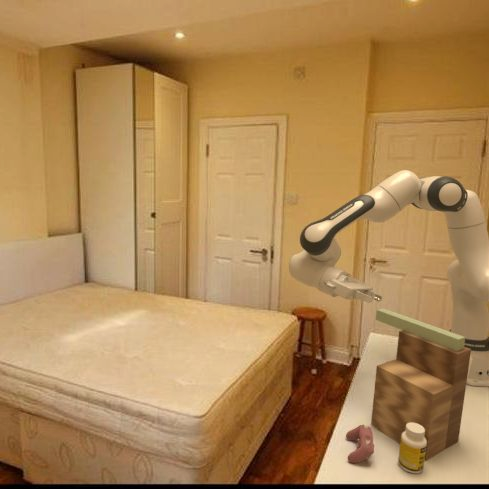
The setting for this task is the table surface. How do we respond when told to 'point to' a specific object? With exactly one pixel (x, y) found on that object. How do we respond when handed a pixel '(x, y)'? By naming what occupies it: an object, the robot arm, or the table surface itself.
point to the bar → (421, 329)
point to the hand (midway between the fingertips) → (376, 299)
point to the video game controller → (361, 443)
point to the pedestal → (422, 391)
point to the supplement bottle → (412, 448)
